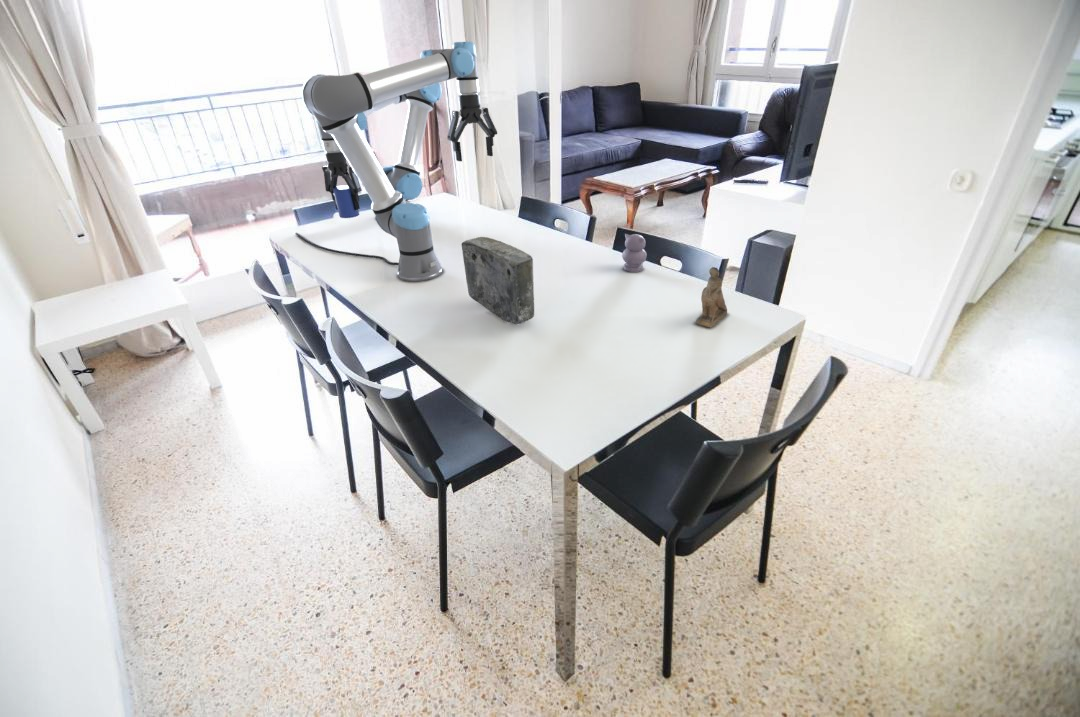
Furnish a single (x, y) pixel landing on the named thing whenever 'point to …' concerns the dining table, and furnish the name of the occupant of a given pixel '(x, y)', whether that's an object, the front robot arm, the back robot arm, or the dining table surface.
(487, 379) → the dining table surface
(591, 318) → the dining table surface
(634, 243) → the cat figurine
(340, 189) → the canister
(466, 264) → the concrete block
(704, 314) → the brown carved statuette
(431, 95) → the back robot arm
